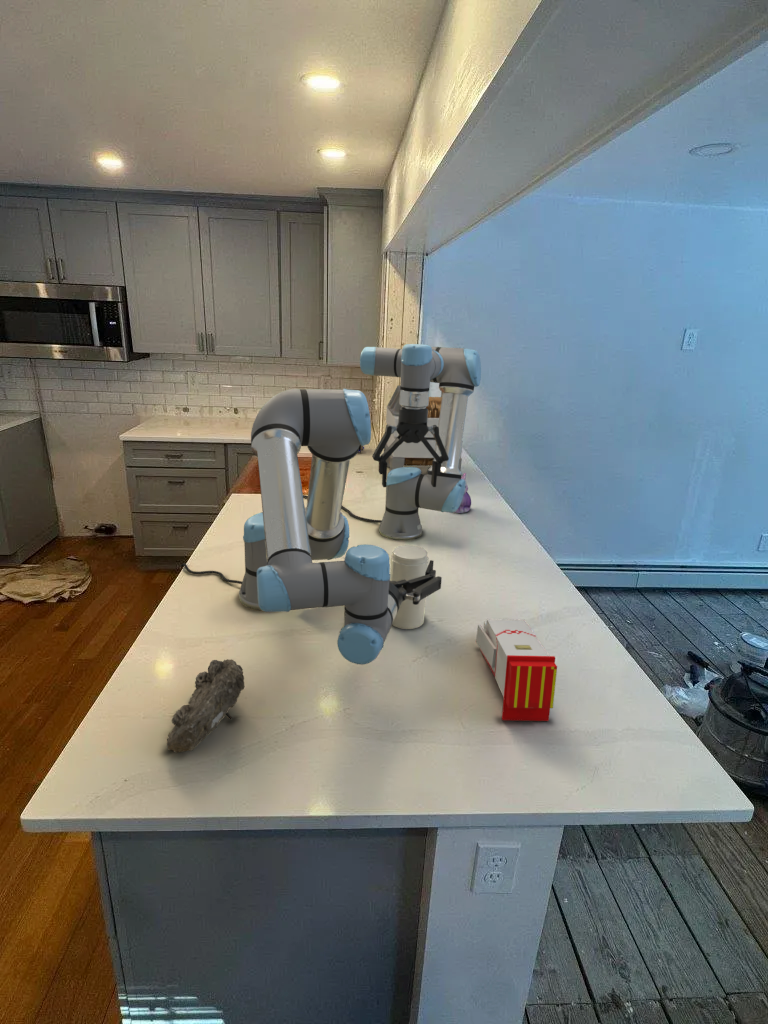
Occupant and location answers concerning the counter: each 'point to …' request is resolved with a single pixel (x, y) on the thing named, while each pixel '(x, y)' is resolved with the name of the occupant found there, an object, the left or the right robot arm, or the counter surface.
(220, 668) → the fossil
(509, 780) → the counter surface
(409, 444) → the light grey boxy frame
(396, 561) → the jar
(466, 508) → the figurine
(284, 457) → the left robot arm
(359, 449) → the figurine character
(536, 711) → the toy
